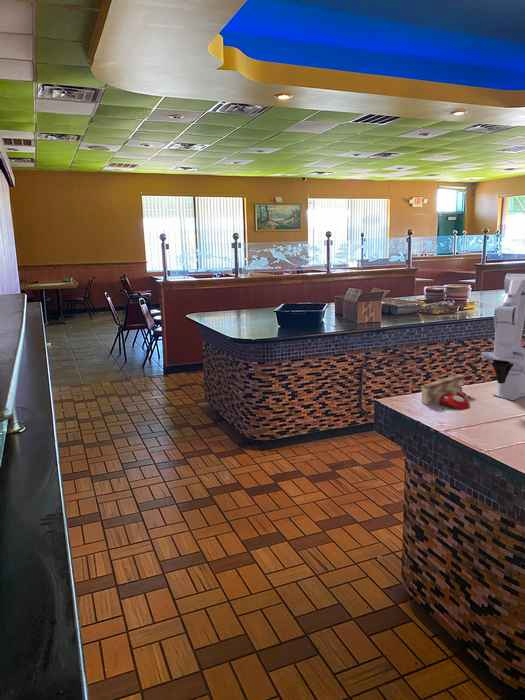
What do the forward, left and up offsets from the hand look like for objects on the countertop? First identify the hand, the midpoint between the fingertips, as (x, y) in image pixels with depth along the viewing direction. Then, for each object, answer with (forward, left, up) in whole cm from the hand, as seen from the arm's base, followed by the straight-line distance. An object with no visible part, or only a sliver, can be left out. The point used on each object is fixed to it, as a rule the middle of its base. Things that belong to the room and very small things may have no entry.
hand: (501, 382), depth 176 cm
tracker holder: (+6, -12, -10) cm, 17 cm away
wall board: (+4, -20, -9) cm, 22 cm away
